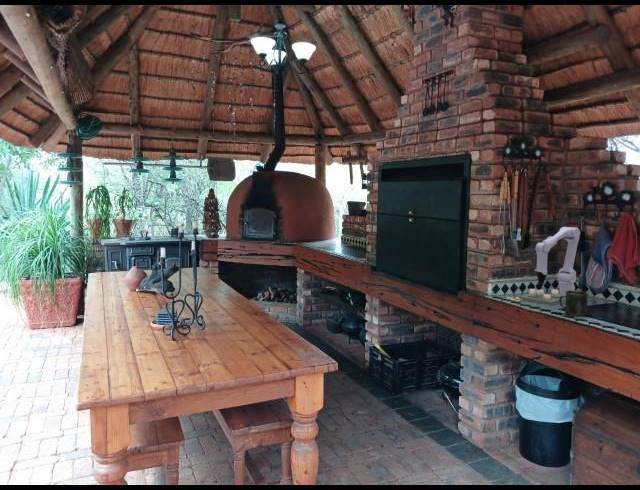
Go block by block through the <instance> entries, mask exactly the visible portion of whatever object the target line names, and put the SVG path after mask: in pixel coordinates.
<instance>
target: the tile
mask: <svg viewBox="0 0 640 490" xmlns="http://www.w3.org/2000/svg"><path fill="white" fill-rule="evenodd" d="M519 297H520V296H519ZM519 297H517V296H509V297H506V298H507V299H506V300H508V299H510V300H509V301H513V300H514V302H521V301H524V300H523V299H519Z"/></svg>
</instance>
